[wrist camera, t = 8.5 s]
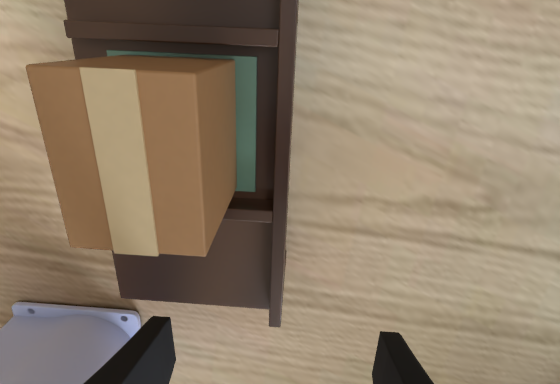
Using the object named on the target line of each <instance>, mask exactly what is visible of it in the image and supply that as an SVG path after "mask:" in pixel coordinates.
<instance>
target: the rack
mask: <svg viewBox="0 0 560 384" xmlns="http://www.w3.org/2000/svg"><path fill="white" fill-rule="evenodd" d="M64 2H65V7H66V12H67V17H68V20H64V26H65V31H66V36H67V37H68V38H72V44H73V49H74V54H75V59H76V60H77V59H87V58H97V57H107V56H117V55H148V56H170V57H192V58H214V59H233V60H235V91H236V165H237V188H236V190H235V192H234V194H233V197H232V199H231V201H230V203H229V206H228V208H227V210H226V212H225V215H224V217H223V219H222V221H221V224H220V226H219V228H218V230H217V233H216V235H215V237H214V239H213V242H212V244H211V246H210V248H209V251H208V253H207V255H206V256H205V257H202V256H188V255H173V254H159V256H144V255H129V254H115V253H114V250H112V253H113V258H114V264H115V269H116V274H117V279H118V285H119V290H120V295H121V298H126V299H139V300H152V301H165V302H179V303H192V304H205V305H218V306H232V307H245V308H258V309H270V310H269V326H270V327H280V326H281V315H282V302H283V290H284V277H285V265H286V250H285V247H286V228H287V210H288V191H289V172H290V154H291V135H292V116H293V98H294V79H295V61H296V42H297V23H298V5H299V0H64Z"/></svg>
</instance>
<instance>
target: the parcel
mask: <svg viewBox="0 0 560 384" xmlns="http://www.w3.org/2000/svg"><path fill="white" fill-rule="evenodd" d="M26 70H27V75H28V79H29V83H30V87H31V91H32V95H33V99H34V103H35V107H36V111H37V115H38V119H39V123H40V127H41V131H42V135H43V139H44V143H45V147H46V151H47V155H48V159H49V163H50V167H51V171H52V175H53V179H54V183H55V187H56V191H57V195H58V199H59V203H60V207H61V211H62V215H63V219H64V223H65V228H66V232H67V236H68V240H69V244H70V246H71V247H73V248H87V249H101V250H114V253H115V254H129V255H144V256H159V254H173V255H188V256H202V257H205V256H206V255H207V253H208V251H209V248H210V246H211V244H212V242H213V239H214V237H215V235H216V233H217V230H218V228H219V226H220V224H221V221H222V219H223V217H224V215H225V212H226V210H227V208H228V206H229V203H230V201H231V199H232V197H233V194H234V192H235V190H236V188H237V165H236V91H235V60H233V59H214V58H192V57H170V56H148V55H117V56H107V57H97V58H87V59H77V60H68V61H58V62H48V63H38V64H29V65H27V66H26Z"/></svg>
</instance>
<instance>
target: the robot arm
mask: <svg viewBox="0 0 560 384" xmlns="http://www.w3.org/2000/svg"><path fill="white" fill-rule="evenodd" d="M12 311H13V314H14V316H13V317H12V318H11V319H10V320H9V321H8V322H7V323H6V324H5V325H4V326H3V327H2V328H1V329H0V384H169V382H170V378H171V375H172V371H173V368H174V364H175V361H176V357H175V349H174V342H173V334H172V327H171V319H170V317H160V316H153V317H151V318H150V319H149V320H148V321H147V322H146V323H145V324H144V325H143V326H142V327H141V321H140V316H139V314H138V313H137V312H136V311H133V310H121V309H108V308H95V307H82V306H69V305H56V304H43V303H30V302H16V303H15V304H14V305H13V306H12ZM125 316H126V317H125ZM372 378H373V384H434V383H433V382H432V380H431V379H430V378H429V376H428V375H427V373H426V372H425V370H424V369H423V368H422V366H421V365H420V363H419V362H418V360H417V359H416V357H415V356H414V354H413V353H412V351H411V350H410V348H409V347H408V345H407V344H406V342H405V341H404V339H403V337H402V336H401V335H400V334H399V333H396V332H381V331H380V336H379V341H378V346H377V351H376V356H375V361H374V366H373V371H372Z"/></svg>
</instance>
